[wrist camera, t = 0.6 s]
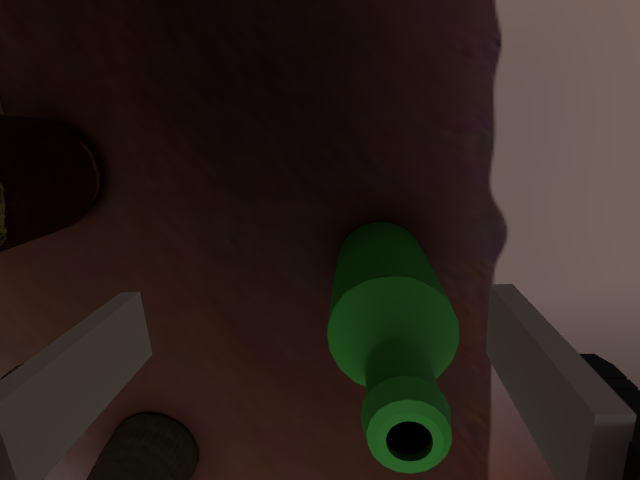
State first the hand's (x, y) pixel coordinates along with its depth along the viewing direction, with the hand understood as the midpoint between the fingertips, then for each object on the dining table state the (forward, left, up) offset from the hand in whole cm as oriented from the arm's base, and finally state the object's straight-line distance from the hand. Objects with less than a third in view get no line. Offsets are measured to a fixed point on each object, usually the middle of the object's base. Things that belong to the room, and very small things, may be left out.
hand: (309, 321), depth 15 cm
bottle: (+7, +4, -27) cm, 28 cm away
